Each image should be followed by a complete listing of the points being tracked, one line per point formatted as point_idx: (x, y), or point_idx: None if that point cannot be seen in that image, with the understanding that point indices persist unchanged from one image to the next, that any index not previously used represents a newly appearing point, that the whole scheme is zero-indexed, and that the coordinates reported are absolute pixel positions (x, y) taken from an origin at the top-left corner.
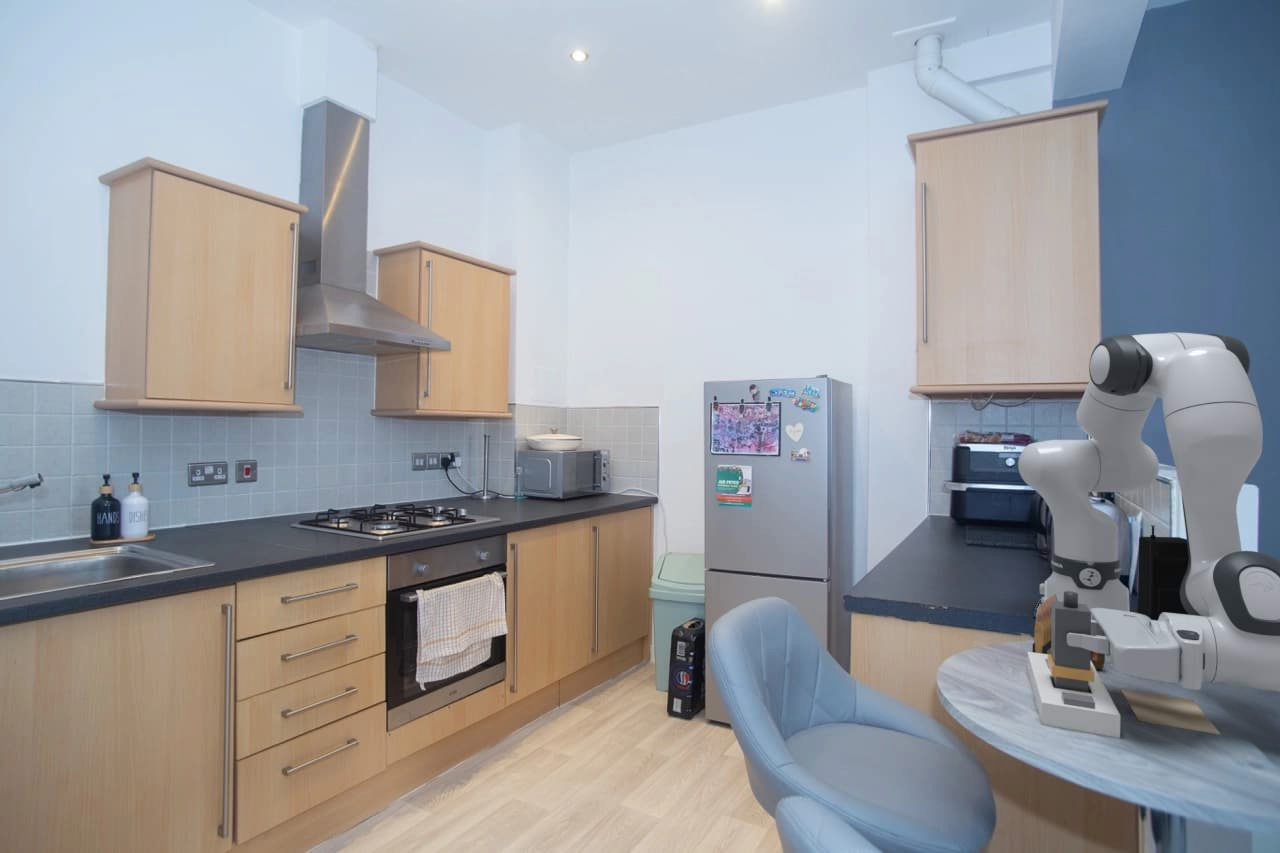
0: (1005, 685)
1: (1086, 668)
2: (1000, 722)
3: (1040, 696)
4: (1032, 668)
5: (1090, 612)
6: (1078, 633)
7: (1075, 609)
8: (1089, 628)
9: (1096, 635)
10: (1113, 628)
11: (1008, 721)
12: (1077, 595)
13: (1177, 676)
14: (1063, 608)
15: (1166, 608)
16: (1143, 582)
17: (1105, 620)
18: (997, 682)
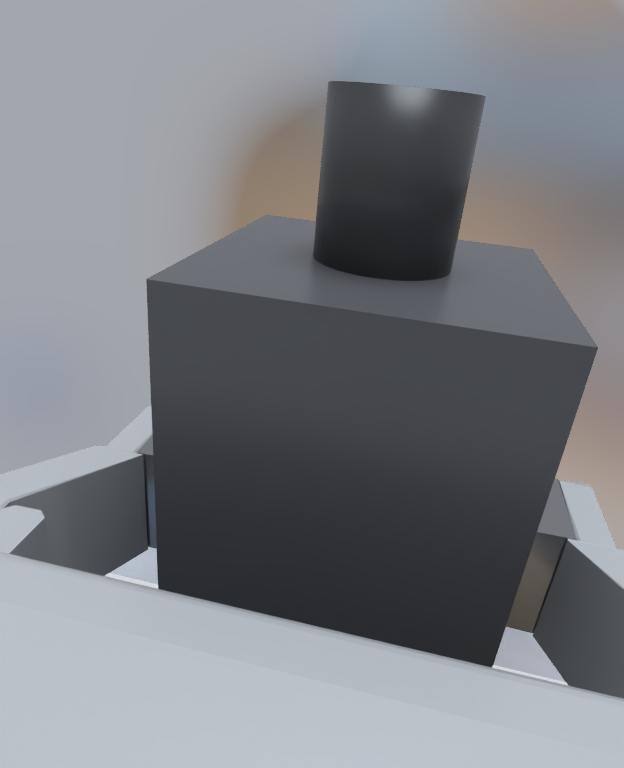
0: (516, 670)
1: None
2: (144, 552)
3: (114, 574)
4: (500, 667)
5: (147, 281)
6: (151, 441)
7: (253, 250)
8: (158, 465)
9: (38, 513)
10: (63, 677)
11: (151, 574)
12: (362, 103)
13: None
14: (271, 227)
15: None
16: None
17: (586, 764)
18: (535, 650)
